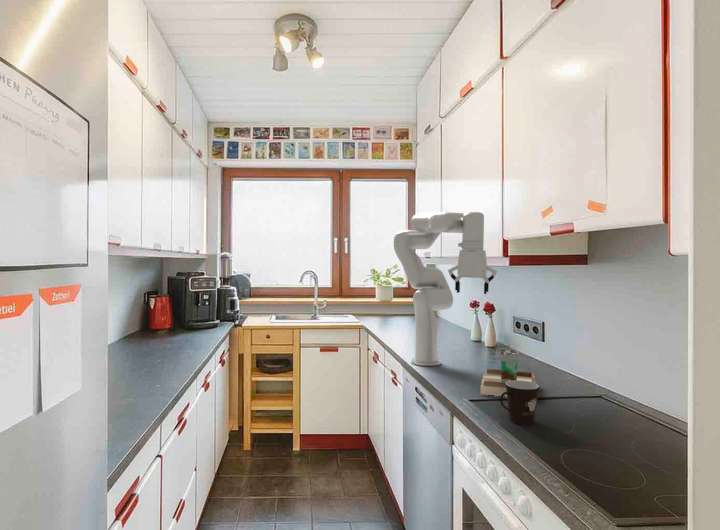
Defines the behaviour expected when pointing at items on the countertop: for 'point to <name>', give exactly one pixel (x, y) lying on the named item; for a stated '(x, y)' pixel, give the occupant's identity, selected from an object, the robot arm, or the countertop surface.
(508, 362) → the food container
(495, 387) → the dock
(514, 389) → the coffee mug
